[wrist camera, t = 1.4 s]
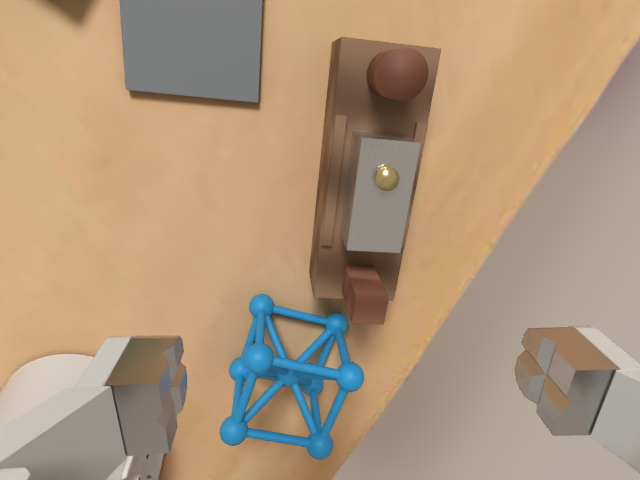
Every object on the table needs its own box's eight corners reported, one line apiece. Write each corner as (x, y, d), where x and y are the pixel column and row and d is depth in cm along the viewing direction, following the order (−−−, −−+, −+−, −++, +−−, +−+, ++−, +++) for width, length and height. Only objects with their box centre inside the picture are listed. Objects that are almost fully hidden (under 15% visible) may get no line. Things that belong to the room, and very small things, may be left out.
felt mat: (258, 102, 33) (258, 102, 33) (128, 89, 32) (125, 89, 31) (264, -44, 30) (264, -46, 29) (118, -65, 28) (114, -68, 28)
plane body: (380, 274, 40) (411, 334, 31) (309, 271, 39) (320, 332, 30) (418, 52, 33) (473, 44, 24) (332, 42, 32) (355, 29, 23)
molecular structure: (349, 310, 42) (371, 378, 32) (317, 386, 45) (329, 467, 36) (253, 287, 40) (247, 352, 30) (227, 368, 43) (215, 449, 34)
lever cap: (388, 235, 33) (402, 256, 30) (339, 232, 33) (348, 253, 29) (405, 135, 30) (423, 144, 27) (352, 130, 30) (363, 138, 26)
